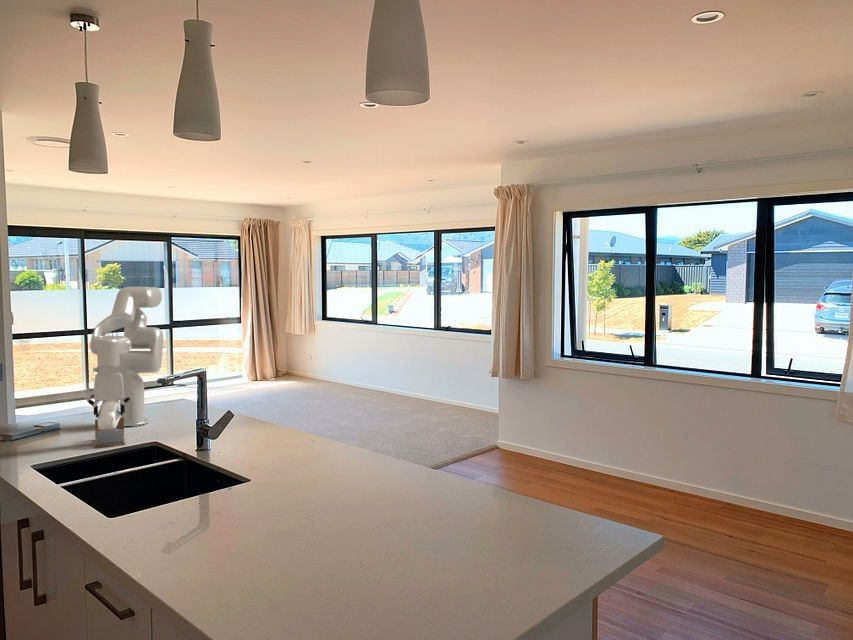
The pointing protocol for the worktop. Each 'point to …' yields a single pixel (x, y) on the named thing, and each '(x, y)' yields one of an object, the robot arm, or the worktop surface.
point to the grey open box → (119, 426)
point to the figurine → (108, 415)
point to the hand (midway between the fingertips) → (109, 415)
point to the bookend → (109, 436)
